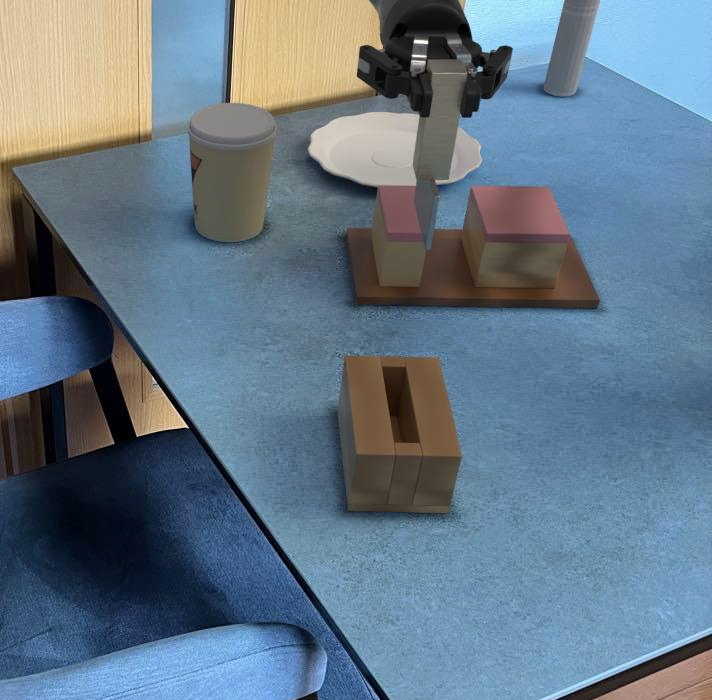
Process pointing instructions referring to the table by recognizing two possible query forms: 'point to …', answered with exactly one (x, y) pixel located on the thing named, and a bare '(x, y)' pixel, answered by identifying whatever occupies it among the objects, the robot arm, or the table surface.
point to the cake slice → (397, 237)
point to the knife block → (397, 435)
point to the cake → (488, 258)
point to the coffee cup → (230, 169)
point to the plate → (383, 149)
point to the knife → (437, 140)
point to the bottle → (570, 46)
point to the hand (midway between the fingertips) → (448, 105)
